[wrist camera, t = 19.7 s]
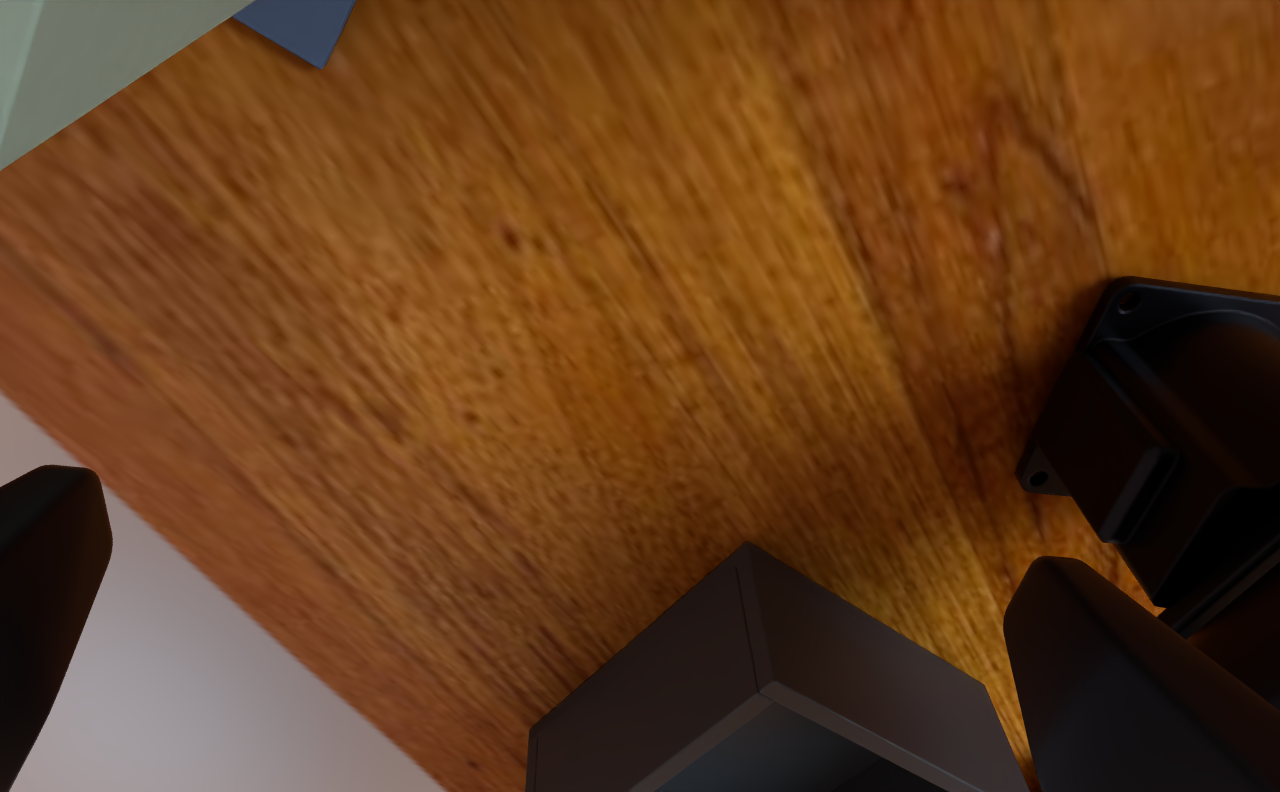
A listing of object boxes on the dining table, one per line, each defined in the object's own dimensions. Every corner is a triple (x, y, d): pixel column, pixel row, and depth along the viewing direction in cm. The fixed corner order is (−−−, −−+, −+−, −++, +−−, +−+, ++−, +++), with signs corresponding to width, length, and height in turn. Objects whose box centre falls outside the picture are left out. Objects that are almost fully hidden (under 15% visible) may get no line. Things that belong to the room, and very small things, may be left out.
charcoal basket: (747, 540, 27) (774, 681, 22) (985, 684, 31) (1045, 825, 27) (528, 729, 31) (517, 875, 27) (761, 833, 35) (783, 973, 31)
